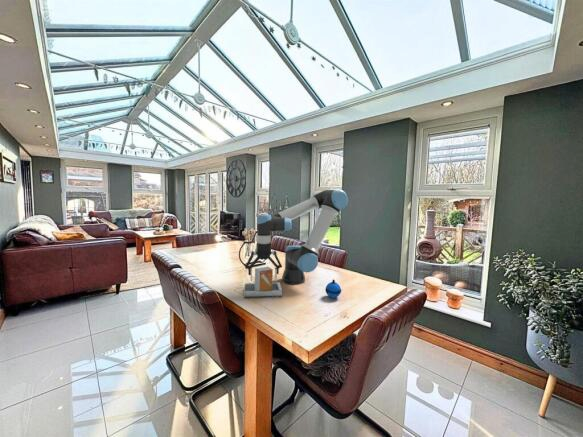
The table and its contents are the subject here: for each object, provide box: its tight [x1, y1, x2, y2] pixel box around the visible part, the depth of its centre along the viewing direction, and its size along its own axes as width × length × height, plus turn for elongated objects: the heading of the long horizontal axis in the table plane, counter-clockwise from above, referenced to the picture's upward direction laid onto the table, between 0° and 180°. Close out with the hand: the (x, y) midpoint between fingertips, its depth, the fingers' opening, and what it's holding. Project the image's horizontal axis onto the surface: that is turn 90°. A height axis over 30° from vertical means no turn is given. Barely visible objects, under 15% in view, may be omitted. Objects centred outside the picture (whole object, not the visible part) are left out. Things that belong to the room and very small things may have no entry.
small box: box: [254, 266, 274, 291], centre depth 138 cm, size 8×6×13 cm
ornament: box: [325, 279, 342, 299], centre depth 136 cm, size 9×9×10 cm
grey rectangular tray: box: [243, 281, 283, 299], centre depth 139 cm, size 20×13×4 cm, turn 99°
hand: (263, 280), depth 138 cm, fingers open, 13 cm apart
